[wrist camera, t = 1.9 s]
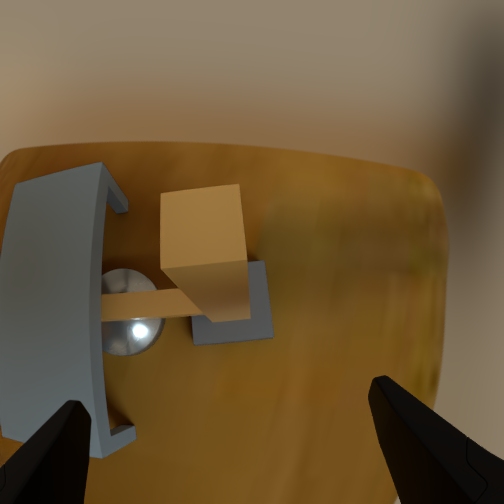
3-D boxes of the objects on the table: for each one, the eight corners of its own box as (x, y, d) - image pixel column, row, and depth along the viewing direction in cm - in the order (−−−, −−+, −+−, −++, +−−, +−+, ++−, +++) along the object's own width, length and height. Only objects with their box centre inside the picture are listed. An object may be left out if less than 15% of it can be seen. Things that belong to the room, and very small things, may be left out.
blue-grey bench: (128, 200, 24) (102, 161, 19) (136, 439, 18) (102, 458, 12) (49, 215, 23) (15, 184, 18) (46, 428, 17) (2, 436, 12)
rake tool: (262, 252, 22) (271, 125, 10) (274, 353, 20) (308, 338, 8) (75, 271, 22) (-39, 192, 10) (74, 362, 19) (-62, 342, 7)
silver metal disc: (183, 305, 21) (179, 301, 20) (135, 373, 20) (128, 373, 18) (122, 259, 22) (115, 252, 21) (78, 321, 21) (69, 318, 19)
